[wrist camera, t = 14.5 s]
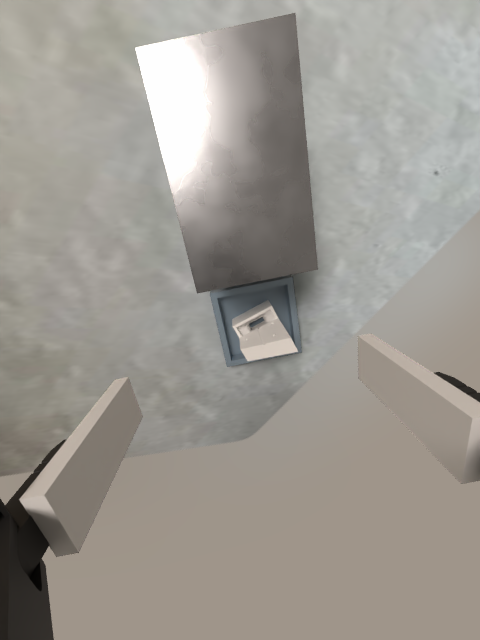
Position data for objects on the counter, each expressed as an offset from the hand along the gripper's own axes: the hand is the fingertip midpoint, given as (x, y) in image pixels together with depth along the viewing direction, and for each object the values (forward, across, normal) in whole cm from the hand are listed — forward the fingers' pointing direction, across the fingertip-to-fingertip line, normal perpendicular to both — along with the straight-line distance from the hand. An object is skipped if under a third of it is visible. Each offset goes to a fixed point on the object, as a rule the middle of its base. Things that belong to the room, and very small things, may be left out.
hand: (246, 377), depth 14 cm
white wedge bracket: (+21, +2, -4) cm, 22 cm away
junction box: (+22, +2, +12) cm, 25 cm away
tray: (+22, +3, -4) cm, 22 cm away
